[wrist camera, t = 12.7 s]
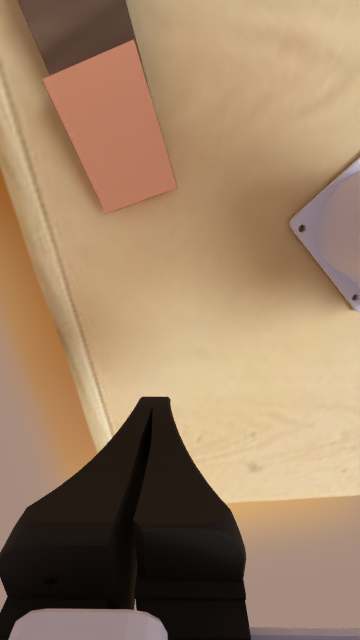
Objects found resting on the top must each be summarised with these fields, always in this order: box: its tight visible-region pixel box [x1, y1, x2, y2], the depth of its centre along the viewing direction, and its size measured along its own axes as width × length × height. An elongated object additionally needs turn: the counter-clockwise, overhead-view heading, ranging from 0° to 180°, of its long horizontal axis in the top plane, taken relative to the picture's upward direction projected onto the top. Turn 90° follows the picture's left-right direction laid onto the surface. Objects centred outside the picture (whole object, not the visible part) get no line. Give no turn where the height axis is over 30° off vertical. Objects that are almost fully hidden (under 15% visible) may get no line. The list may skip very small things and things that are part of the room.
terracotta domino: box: [42, 40, 177, 213], centre depth 16 cm, size 2×5×7 cm
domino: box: [18, 0, 150, 92], centre depth 15 cm, size 2×5×7 cm
